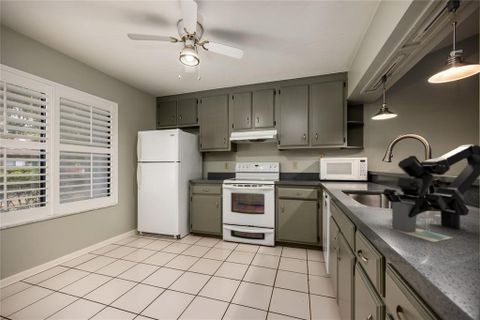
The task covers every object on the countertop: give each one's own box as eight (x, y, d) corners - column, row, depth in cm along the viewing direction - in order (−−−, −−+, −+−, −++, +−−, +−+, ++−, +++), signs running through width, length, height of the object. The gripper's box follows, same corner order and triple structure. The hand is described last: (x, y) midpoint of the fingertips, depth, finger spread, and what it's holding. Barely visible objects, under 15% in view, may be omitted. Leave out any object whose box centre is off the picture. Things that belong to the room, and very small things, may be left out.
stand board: (404, 227, 82) (404, 215, 82) (453, 240, 68) (453, 225, 68) (385, 230, 79) (385, 217, 79) (433, 244, 64) (433, 229, 65)
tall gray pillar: (400, 227, 79) (400, 201, 80) (415, 231, 75) (415, 204, 75) (392, 228, 78) (392, 202, 78) (407, 232, 73) (406, 205, 73)
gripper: (385, 170, 87) (367, 197, 83) (440, 171, 69) (421, 206, 65) (397, 187, 89) (380, 214, 85) (453, 193, 72) (435, 227, 68)
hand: (401, 215), depth 76 cm, fingers open, 5 cm apart
